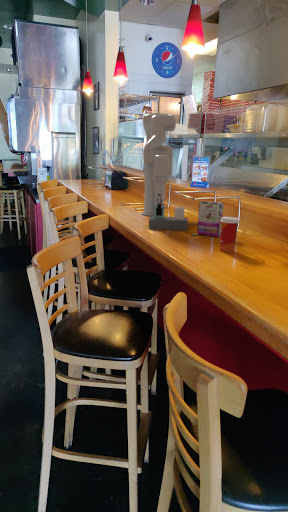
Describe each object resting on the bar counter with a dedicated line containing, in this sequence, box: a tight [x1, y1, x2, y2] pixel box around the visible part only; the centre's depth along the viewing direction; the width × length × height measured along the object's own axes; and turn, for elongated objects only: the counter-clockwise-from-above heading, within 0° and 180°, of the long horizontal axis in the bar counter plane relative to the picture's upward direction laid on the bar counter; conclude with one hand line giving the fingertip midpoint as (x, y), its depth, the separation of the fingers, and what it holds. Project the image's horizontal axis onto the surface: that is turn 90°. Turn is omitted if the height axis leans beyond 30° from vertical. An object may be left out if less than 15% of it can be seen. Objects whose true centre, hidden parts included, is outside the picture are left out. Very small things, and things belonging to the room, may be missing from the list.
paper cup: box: [219, 216, 240, 254], centre depth 153 cm, size 8×8×14 cm
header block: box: [148, 206, 189, 231], centre depth 195 cm, size 10×20×11 cm, turn 83°
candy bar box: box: [197, 200, 224, 238], centre depth 181 cm, size 11×5×16 cm, turn 62°
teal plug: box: [154, 203, 166, 219], centre depth 196 cm, size 5×5×12 cm
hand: (159, 214), depth 196 cm, fingers closed on teal plug, 5 cm apart
